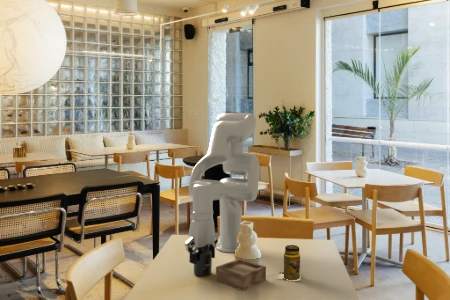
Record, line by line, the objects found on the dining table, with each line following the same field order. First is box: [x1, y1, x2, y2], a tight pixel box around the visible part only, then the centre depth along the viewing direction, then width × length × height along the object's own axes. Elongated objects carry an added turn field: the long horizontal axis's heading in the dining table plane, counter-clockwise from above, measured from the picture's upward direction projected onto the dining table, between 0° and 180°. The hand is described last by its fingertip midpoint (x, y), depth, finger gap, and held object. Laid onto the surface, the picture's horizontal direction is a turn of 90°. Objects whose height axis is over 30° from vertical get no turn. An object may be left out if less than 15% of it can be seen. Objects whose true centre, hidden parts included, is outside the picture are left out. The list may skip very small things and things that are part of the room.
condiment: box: [278, 244, 303, 280], centre depth 184 cm, size 7×8×12 cm
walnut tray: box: [215, 258, 267, 291], centre depth 181 cm, size 13×13×5 cm
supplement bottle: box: [193, 244, 213, 277], centre depth 187 cm, size 7×7×12 cm
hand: (202, 260), depth 187 cm, fingers open, 9 cm apart
